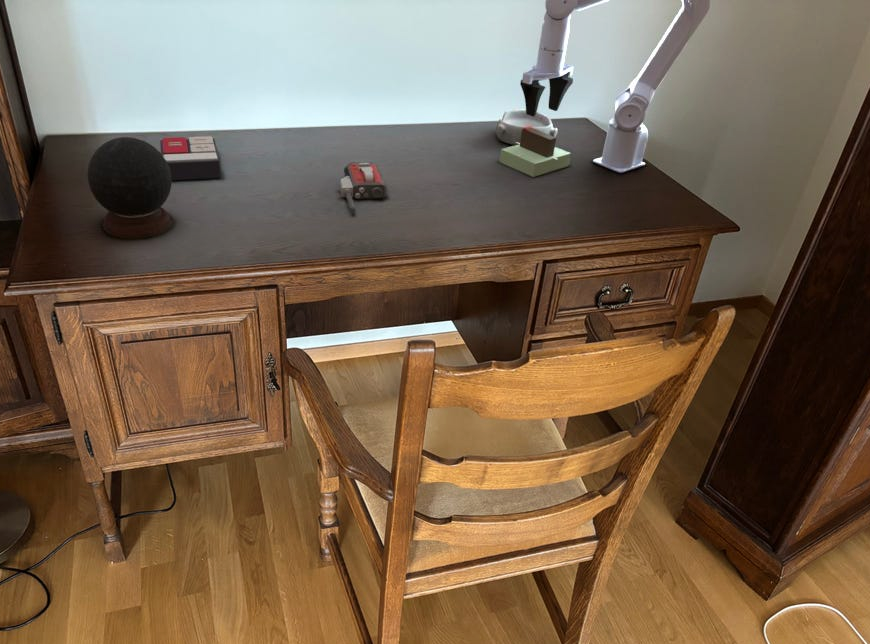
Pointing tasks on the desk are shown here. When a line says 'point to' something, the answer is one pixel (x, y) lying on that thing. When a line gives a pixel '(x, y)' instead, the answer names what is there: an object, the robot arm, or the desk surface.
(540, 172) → the stand
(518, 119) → the dish
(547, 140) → the brown block
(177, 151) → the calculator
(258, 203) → the desk surface
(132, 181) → the ball on wooden base
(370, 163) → the walkie-talkie
